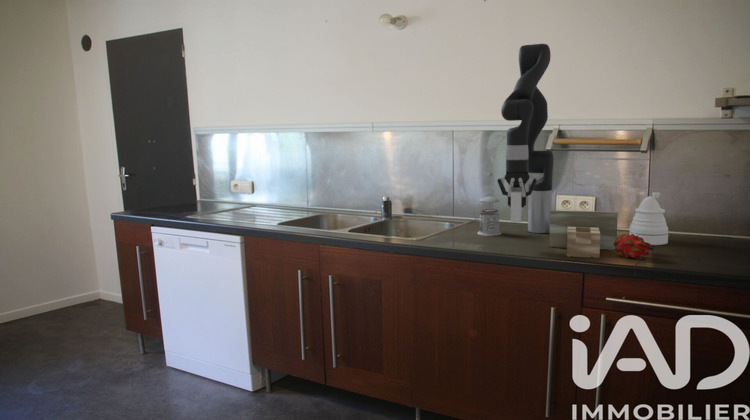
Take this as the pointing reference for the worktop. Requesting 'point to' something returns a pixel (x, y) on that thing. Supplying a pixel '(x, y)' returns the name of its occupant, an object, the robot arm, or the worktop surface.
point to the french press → (488, 216)
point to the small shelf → (583, 232)
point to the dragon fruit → (632, 246)
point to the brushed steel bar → (516, 204)
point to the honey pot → (650, 222)
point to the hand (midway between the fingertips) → (516, 206)
